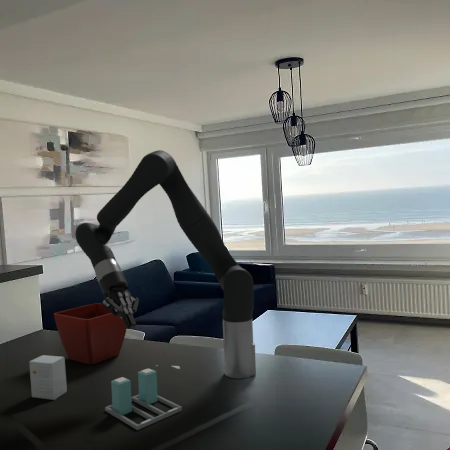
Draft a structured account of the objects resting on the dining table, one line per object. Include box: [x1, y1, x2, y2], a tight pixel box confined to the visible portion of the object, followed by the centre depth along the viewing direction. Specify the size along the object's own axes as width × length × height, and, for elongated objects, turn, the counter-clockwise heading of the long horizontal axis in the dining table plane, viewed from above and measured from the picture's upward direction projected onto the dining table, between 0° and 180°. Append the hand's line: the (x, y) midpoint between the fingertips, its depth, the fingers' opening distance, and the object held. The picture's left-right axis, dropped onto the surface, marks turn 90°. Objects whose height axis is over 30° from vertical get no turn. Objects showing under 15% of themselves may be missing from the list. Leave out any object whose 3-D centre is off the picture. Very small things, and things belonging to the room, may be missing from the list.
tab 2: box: [137, 368, 159, 405], centre depth 121 cm, size 4×4×8 cm
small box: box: [29, 354, 68, 401], centre depth 130 cm, size 8×6×10 cm
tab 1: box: [110, 376, 133, 416], centre depth 115 cm, size 4×4×8 cm
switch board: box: [104, 393, 183, 431], centre depth 116 cm, size 15×14×2 cm
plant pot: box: [53, 302, 128, 366], centre depth 161 cm, size 19×19×17 cm
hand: (132, 327), depth 128 cm, fingers closed
